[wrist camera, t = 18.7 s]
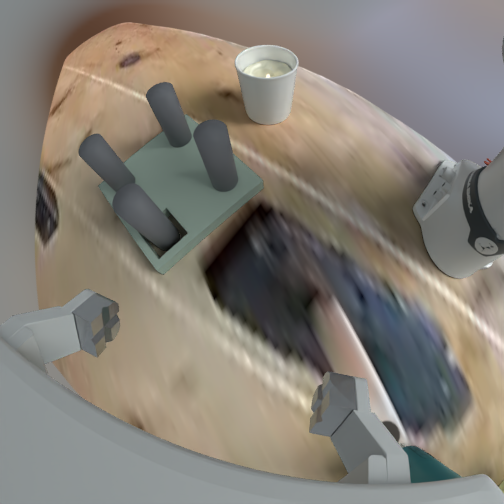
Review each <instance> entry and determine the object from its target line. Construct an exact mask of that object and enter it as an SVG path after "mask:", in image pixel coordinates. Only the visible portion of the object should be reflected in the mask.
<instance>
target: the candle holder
mask: <svg viewBox="0 0 504 504" xmlns="http://www.w3.org/2000/svg"><path fill="white" fill-rule="evenodd" d="M235 67H236V70H237V75H238V79H239V83H240V88H241V92H242V97H243V101H244V106H245V110H246V113H247V115H248V117H249V118H250V119H251V120H253V121H254V122H257V123H259V124H264V125H273V124H277V123H280V122H282V121H284V120H285V119H286V118H287V117H288V116H289V114H290V112H291V107H292V101H293V94H294V87H295V80H296V73H297V67H298V59H297V57H296V55H295V54H294V53H293V52H291V51H290V50H288V49H286V48H283V47H280V46H274V45H259V46H254V47H251V48H248V49H246V50H244V51H242V52H241V53H240V54H239V55H238V56H237V57H236V59H235Z"/></svg>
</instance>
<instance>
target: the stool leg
mask: <svg viewBox="0 0 504 504" xmlns="http://www.w3.org/2000/svg"><path fill="white" fill-rule="evenodd" d="M112 206H113V210H114V212H115V213H116V214H117V215H119V216H120V217H121V218H122V219H123V220H125V221H126V222H127V223H128V224H130V225H131V226H132V227H133V228H135V229H136V230H137V231H138V232H140V233H141V234H142V235H143V236H145V237H146V238H147V239H148V240H150V241H151V242H152V243H153V244H155V245H156V246H157V247H159V248H160V249H161V250H163V251H169V250H170V249H171V248H172V247H173V246H174V245H175V244H176V243H178V242H179V241H180V232H179V231H178V229H177V228H176V227H175V226H174V225H173V224H172V223H171V221H170V220H169V219H168V218H167V217H166V216H165V215H164V213H163V212H162V211H161V210H160V209H159V208H158V207H157V205H156V204H155V203H154V202H153V201H152V200H151V198H150V197H149V196H148V195H147V194H146V193H145V191H144V190H143V189H142V188H141V187H140V186H139V185H137V184H134V183H131V184H127V185H124V186H123V187H121V188H120V189H119V190H118V191H117V192H116V194H115V196H114V198H113V202H112Z"/></svg>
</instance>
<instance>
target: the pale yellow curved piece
mask: <svg viewBox="0 0 504 504" xmlns="http://www.w3.org/2000/svg"><path fill="white" fill-rule="evenodd" d="M499 488H500V490H501V491H502V492H503V494H504V480H503V482H502V483H501V484H500V486H499Z"/></svg>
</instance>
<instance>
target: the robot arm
mask: <svg viewBox="0 0 504 504" xmlns="http://www.w3.org/2000/svg"><path fill="white" fill-rule="evenodd" d="M502 55H503V62H504V38H503V45H502ZM487 160H488V161H489V162H490V163H488V162H486V161H484V163H485V164H486V165H487V166H485V167H482V168H481V167H480V166H479V165H477V164H475V163H473V162H471V161H469V160H461V161H460V162H459V163H456V162H453V161H450V160H444V161H443V162H442V163H441V164H440V166H439V167H438V169H437V171H436V172H435V174H434V176H433V177H432V179H431V180H430V182H429V183H428V185H427V187H426V188H425V190H424V191H423V193H422V194H421V196H420V197H419V199H418V200H417V202H416V203H415V205H414V207H413V212H414V214H415V216H416V218H417V220H418V222H419V223H420V225H421V229H422V234H423V239H424V243H425V246H426V249H427V251H428V253H429V255H430V257H431V259H432V260H433V262H434V263H435V264H436V265H437V267H438V268H439V269H440V270H442V271H443V272H444V273H446V274H447V275H449V276H451V277H454V278H466V277H469V276H471V275H472V274H473V273H475V272H476V271H478V270H479V269H486V268H488V267H490V266H491V265H492V262H493V261H495V260H496V259H498V258H499V257H501V256H503V255H504V148H503V149H502V150H501V152H500V153H499V154H498V155H497V156H496V157H495V159H494V160H493V161H491V160H489V159H487ZM422 204H423V205H424V207H423V206H422ZM118 312H119V306H118V303H116V302H115V301H113V300H111V299H108V298H106V297H104V296H102V295H100V294H98V293H96V292H94V291H92V290H90V289H85V290H84V291H82V292H81V293H80V294H78V295H77V296H76V297H74V298H73V299H72V300H71V301H69V302H68V303H67V304H66V305H64V306H63V307H60V306H57V307H52V308H47V309H43V310H38V311H33V312H28V313H23V314H18V315H13V316H12V317H10V318H9V319H8V320H7V321H5V322H4V323H3V324H2V325H0V504H504V494H503V492H502V491H501V490H500V488H499V487H498V486H497V485H496V484H495V483H494V481H493V480H492V479H491V478H489V477H488V476H487V475H485V474H477V475H472V476H467V477H461V478H455V479H448V480H441V481H433V482H422V483H411V480H410V470H409V460H408V455H407V454H406V452H405V451H404V450H403V449H402V447H401V446H400V445H399V444H398V442H397V441H396V440H395V439H394V437H393V436H392V435H391V433H390V432H389V431H388V430H387V428H386V427H385V426H384V425H383V423H382V422H381V421H380V420H379V418H378V417H377V416H376V415H375V413H371V409H370V400H369V392H368V384H367V380H366V379H365V378H359V377H352V376H348V375H343V374H338V373H333V372H327V373H326V374H325V375H324V377H323V384H321V385H319V386H318V387H317V389H316V391H315V393H314V396H313V400H312V406H311V409H312V411H313V412H314V414H313V415H312V417H311V418H310V427H309V433H314V434H319V435H324V436H329V437H330V438H331V440H332V442H333V444H334V446H335V448H336V450H337V452H338V454H339V456H340V458H341V460H342V462H343V464H344V466H345V468H346V470H347V472H348V474H347V475H346V476H345V477H343V478H342V479H341V480H339V481H338V482H327V481H318V480H310V479H303V478H296V477H290V476H285V475H279V474H274V473H269V472H265V471H260V470H256V469H252V468H248V467H244V466H240V465H236V464H233V463H229V462H226V461H222V460H219V459H216V458H213V457H209V456H206V455H203V454H200V453H198V452H195V451H192V450H189V449H186V448H184V447H181V446H178V445H176V444H173V443H171V442H168V441H166V440H164V439H161V438H159V437H156V436H154V435H152V434H150V433H147V432H145V431H143V430H141V429H139V428H137V427H135V426H133V425H131V424H128V423H126V422H124V421H123V420H121V419H119V418H117V417H115V416H113V415H111V414H109V413H107V412H106V411H104V410H102V409H100V408H99V407H97V406H95V405H93V404H92V403H90V402H88V401H87V400H85V399H83V398H82V397H80V396H79V395H77V394H75V393H74V392H72V391H71V390H69V389H68V388H66V387H65V386H63V385H62V384H60V383H59V382H57V381H56V380H54V379H53V378H52V377H50V376H49V375H48V372H47V369H46V367H45V364H47V363H49V362H52V361H54V360H57V359H60V358H62V357H65V356H67V355H70V354H72V353H75V352H77V351H80V350H81V349H82V350H84V351H86V352H88V353H90V354H92V355H94V356H96V357H98V356H99V355H100V354H101V353H102V352H103V351H104V350H105V348H106V343H107V342H110V341H113V340H114V338H115V337H116V336H117V334H118V331H119V328H120V319H119V318H118V316H117V313H118Z"/></svg>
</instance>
